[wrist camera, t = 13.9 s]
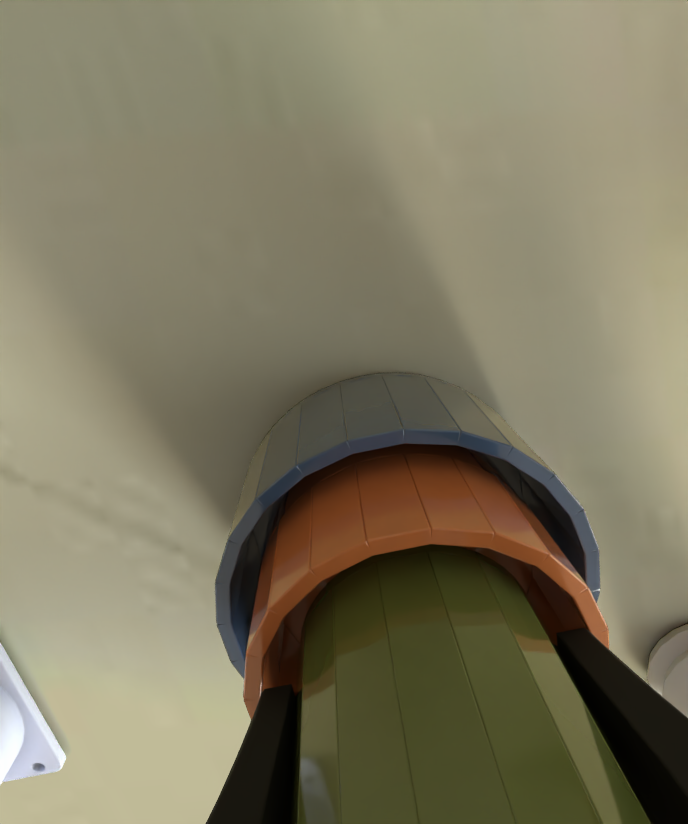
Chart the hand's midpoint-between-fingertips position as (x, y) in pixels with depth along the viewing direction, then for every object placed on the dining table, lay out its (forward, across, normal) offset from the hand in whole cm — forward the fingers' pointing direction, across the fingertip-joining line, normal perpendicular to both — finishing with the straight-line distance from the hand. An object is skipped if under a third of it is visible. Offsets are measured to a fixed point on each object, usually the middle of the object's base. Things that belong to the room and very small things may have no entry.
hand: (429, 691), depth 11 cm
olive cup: (+1, 0, 0) cm, 1 cm away
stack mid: (+8, 0, 0) cm, 8 cm away
